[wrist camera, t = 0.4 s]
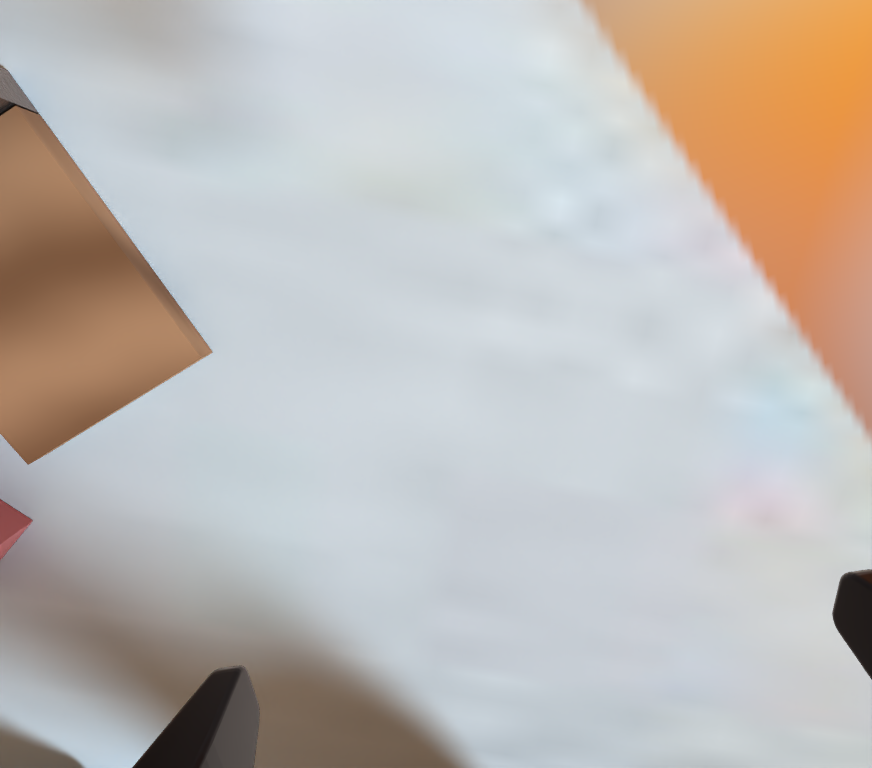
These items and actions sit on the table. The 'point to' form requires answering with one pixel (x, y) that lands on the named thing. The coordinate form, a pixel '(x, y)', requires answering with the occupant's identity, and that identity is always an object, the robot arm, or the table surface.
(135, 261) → the tan flat rectangular slab
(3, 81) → the metal bookend
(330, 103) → the table surface
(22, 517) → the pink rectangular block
